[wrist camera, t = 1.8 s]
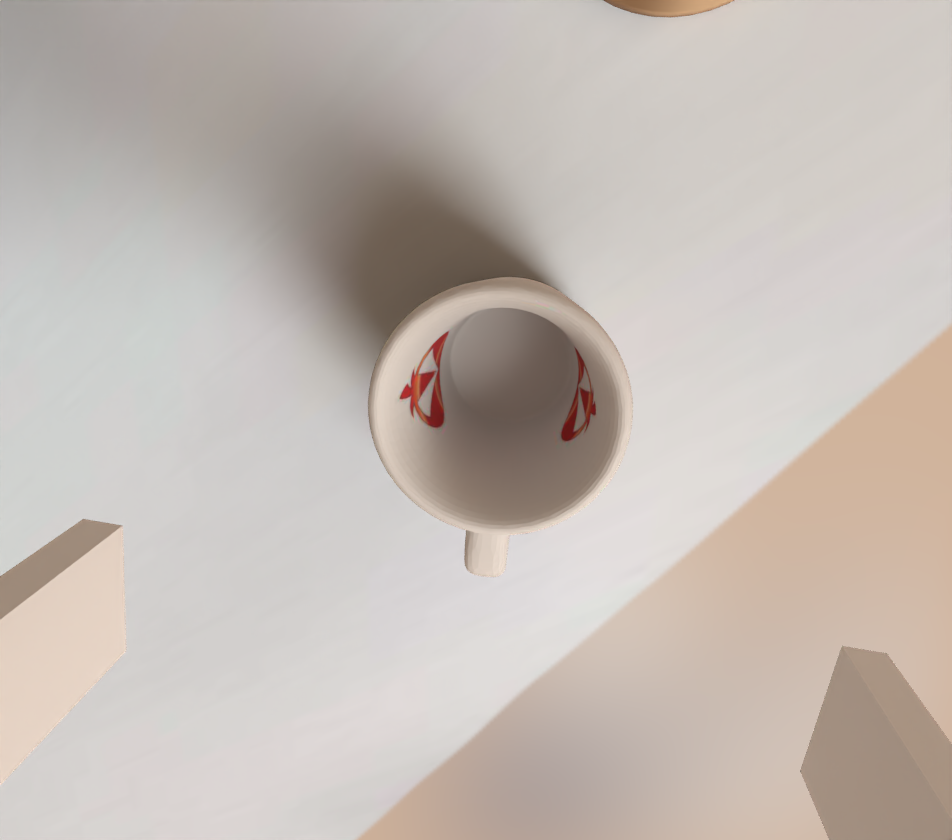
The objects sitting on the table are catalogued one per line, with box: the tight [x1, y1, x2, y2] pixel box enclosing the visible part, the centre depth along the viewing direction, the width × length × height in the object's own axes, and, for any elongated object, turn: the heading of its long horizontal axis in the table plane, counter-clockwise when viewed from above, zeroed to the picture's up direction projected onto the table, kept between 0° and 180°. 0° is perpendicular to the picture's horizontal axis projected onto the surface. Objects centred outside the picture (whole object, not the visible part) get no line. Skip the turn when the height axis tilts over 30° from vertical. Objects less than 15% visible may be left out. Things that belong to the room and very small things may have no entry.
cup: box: [368, 277, 633, 577], centre depth 26 cm, size 11×8×8 cm
